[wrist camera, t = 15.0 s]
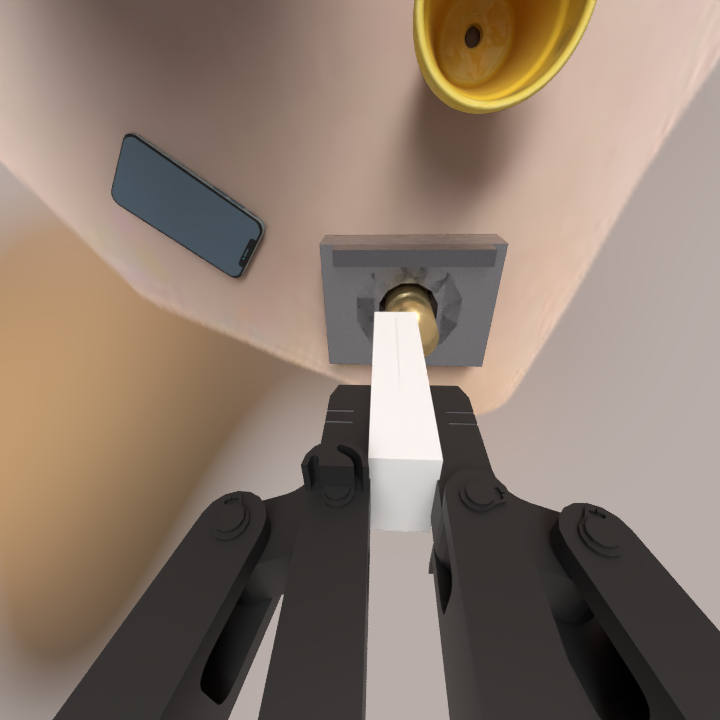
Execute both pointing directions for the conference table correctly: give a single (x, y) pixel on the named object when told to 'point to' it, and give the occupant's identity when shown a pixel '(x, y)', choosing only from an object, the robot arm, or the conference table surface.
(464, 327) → the jig
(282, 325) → the conference table surface
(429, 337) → the brass cylinder rod
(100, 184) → the conference table surface
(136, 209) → the smartphone
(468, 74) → the plant pot
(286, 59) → the conference table surface
